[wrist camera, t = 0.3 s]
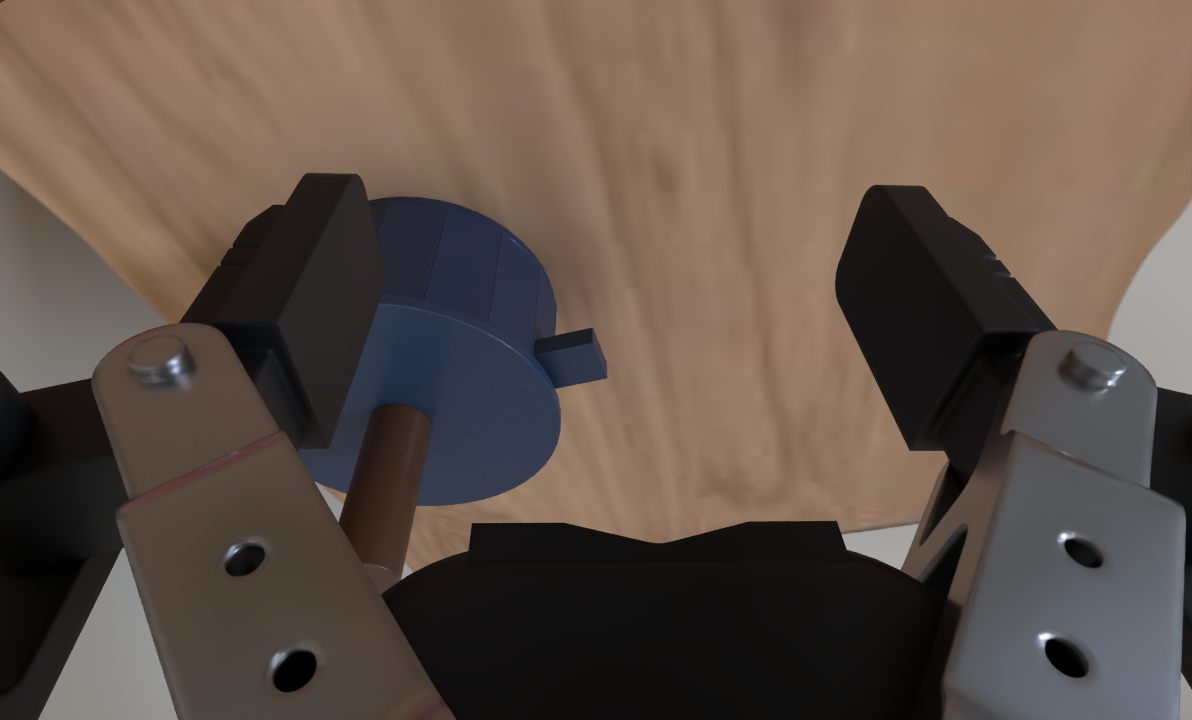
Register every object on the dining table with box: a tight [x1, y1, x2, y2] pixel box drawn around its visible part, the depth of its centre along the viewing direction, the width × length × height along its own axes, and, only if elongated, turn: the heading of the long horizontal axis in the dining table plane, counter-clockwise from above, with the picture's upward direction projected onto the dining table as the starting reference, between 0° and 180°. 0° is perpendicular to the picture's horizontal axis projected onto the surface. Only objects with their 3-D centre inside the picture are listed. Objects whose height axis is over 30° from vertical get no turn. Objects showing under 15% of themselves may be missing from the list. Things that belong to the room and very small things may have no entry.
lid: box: [298, 294, 561, 595], centre depth 27 cm, size 15×15×9 cm
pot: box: [369, 197, 607, 389], centre depth 32 cm, size 14×19×8 cm
